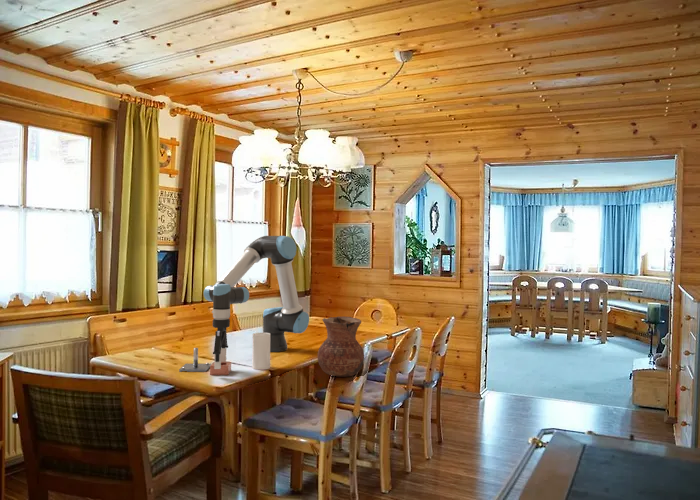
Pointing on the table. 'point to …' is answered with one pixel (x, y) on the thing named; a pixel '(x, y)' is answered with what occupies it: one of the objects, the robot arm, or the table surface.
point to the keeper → (195, 365)
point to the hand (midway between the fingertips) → (220, 365)
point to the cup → (261, 351)
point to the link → (223, 371)
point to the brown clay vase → (341, 347)
